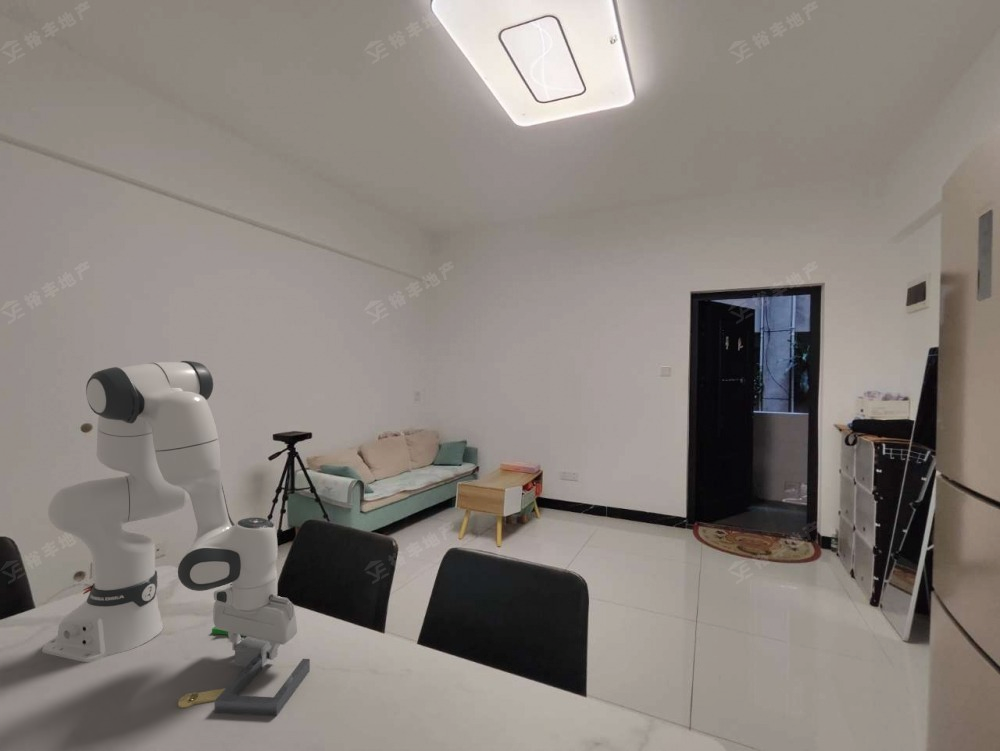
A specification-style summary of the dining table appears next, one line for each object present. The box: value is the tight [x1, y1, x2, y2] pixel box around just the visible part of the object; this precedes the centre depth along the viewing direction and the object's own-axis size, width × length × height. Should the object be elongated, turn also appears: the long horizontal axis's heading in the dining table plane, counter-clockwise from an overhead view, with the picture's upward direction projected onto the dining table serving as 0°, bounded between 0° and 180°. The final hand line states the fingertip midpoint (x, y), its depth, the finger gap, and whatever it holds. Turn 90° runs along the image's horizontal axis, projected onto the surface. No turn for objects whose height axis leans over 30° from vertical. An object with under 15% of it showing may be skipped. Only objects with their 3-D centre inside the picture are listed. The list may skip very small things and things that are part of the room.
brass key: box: [177, 687, 227, 709], centre depth 84 cm, size 8×3×1 cm, turn 107°
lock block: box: [234, 636, 272, 668], centre depth 97 cm, size 6×5×4 cm
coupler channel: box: [214, 657, 311, 717], centre depth 87 cm, size 12×12×3 cm
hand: (254, 653), depth 96 cm, fingers open, 8 cm apart
